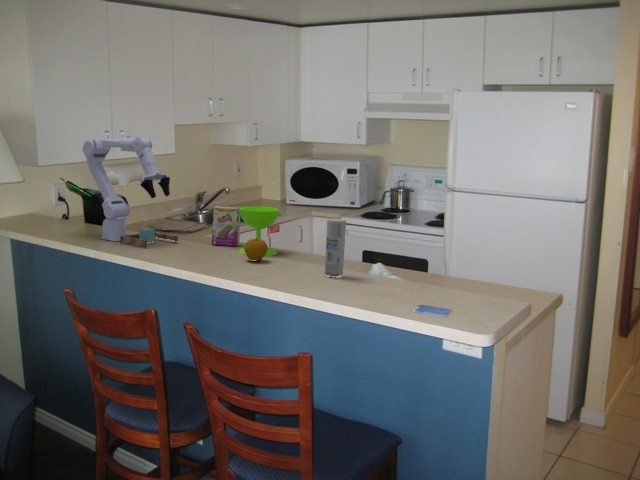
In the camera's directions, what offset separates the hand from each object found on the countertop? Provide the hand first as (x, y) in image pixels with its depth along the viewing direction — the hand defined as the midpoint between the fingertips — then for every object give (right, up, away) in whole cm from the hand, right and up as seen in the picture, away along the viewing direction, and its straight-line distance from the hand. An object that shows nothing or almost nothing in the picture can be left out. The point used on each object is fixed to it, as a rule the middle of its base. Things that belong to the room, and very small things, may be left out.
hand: (160, 196), depth 272 cm
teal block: (-8, -19, +9) cm, 23 cm away
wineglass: (+40, -23, -1) cm, 46 cm away
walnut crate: (-7, -19, +8) cm, 22 cm away
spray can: (+70, -31, -39) cm, 86 cm away
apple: (+40, -26, -19) cm, 52 cm away
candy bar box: (+25, -20, +13) cm, 34 cm away
